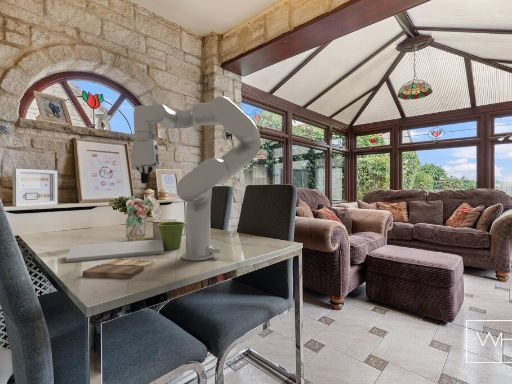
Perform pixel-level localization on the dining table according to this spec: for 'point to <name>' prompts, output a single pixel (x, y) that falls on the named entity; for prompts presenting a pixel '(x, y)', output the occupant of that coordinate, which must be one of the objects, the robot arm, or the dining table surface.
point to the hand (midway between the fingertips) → (145, 183)
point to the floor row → (112, 271)
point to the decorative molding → (114, 250)
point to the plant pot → (171, 234)
